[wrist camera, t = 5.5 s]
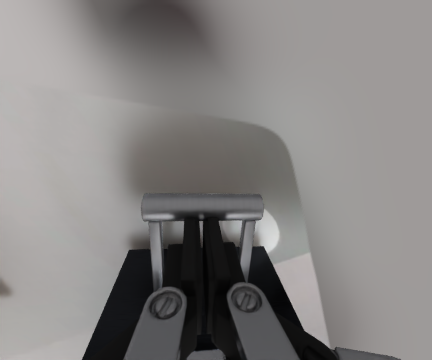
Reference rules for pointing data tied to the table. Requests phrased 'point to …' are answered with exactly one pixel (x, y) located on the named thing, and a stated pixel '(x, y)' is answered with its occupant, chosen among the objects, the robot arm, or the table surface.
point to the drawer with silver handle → (156, 258)
